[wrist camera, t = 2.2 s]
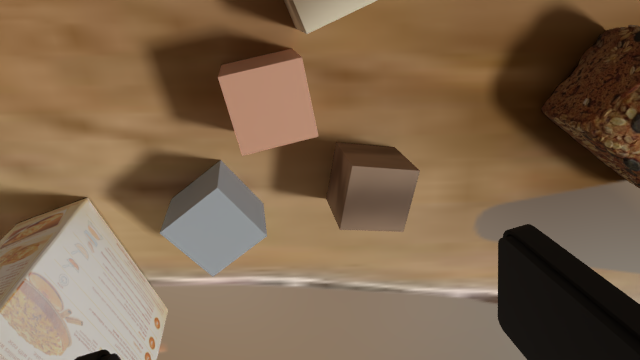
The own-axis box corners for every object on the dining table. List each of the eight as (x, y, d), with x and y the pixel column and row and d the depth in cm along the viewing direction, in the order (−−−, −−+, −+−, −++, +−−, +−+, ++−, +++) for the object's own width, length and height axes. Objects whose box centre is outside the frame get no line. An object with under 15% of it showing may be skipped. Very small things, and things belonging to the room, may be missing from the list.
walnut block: (335, 142, 37) (352, 165, 31) (394, 147, 38) (419, 170, 33) (326, 198, 39) (339, 229, 34) (381, 201, 40) (403, 231, 35)
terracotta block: (221, 64, 32) (217, 77, 27) (291, 48, 33) (302, 57, 27) (241, 132, 35) (242, 155, 29) (306, 116, 35) (318, 136, 30)
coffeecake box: (13, 223, 34) (-223, 453, 17) (89, 194, 34) (-65, 391, 17) (107, 335, 41) (9, 582, 23) (171, 310, 41) (120, 536, 24)
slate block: (171, 198, 36) (159, 232, 31) (220, 159, 35) (217, 187, 30) (216, 238, 39) (212, 276, 33) (263, 203, 38) (267, 235, 33)
